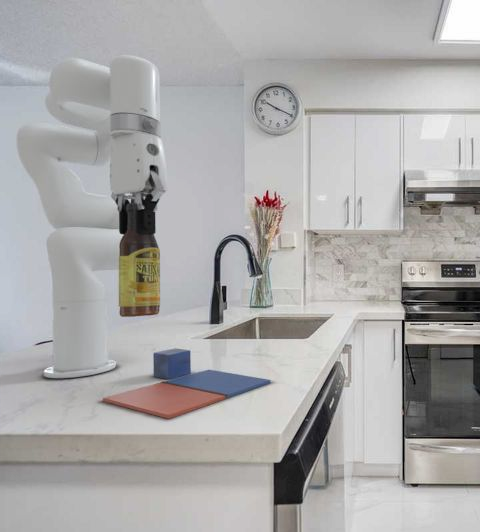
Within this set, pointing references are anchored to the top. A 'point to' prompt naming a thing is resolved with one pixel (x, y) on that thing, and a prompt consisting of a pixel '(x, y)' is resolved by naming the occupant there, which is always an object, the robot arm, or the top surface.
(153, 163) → the robot arm
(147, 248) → the sauce bottle
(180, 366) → the blue block
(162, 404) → the sorting board
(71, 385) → the top surface
